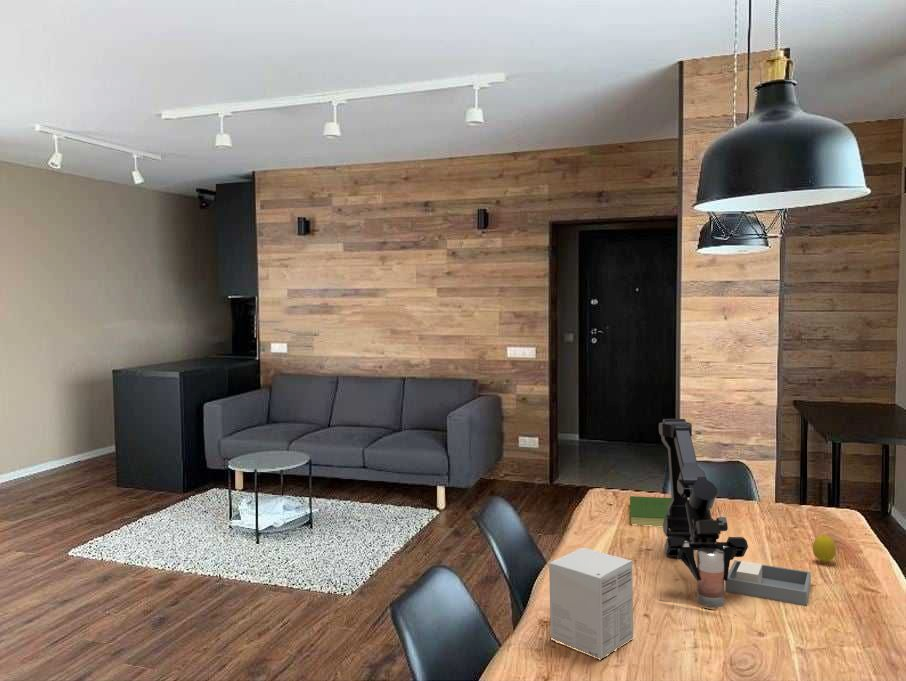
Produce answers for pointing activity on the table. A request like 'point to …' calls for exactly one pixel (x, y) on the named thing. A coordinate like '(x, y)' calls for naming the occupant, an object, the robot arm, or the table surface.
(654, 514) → the hardcover book
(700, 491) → the robot arm
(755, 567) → the white rectangular block
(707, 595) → the steel tin
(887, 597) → the table surface
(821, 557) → the lemon
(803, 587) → the tote
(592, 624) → the supplement box
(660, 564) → the table surface
